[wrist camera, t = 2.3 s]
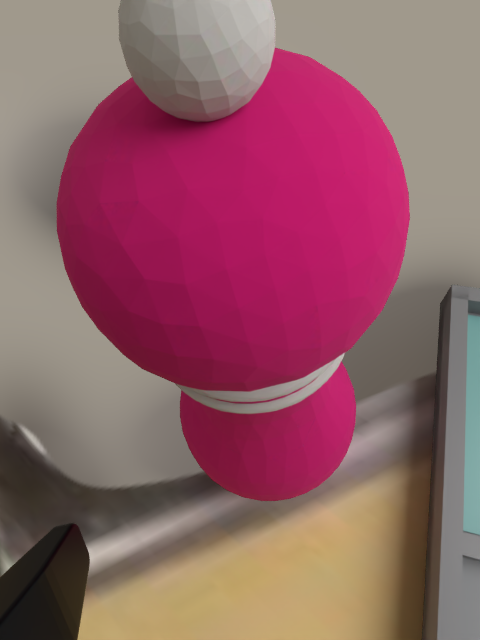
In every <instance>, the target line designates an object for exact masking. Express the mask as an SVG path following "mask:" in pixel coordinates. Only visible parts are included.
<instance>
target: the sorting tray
mask: <svg viewBox="0 0 480 640" xmlns="http://www.w3.org/2000/svg"><path fill="white" fill-rule="evenodd" d="M439 321H440V322H439V339H438V357H437V374H436V392H435V411H434V429H433V447H432V465H431V483H430V502H429V520H428V538H427V556H426V574H425V593H424V611H423V629H422V640H480V288H472V287H465V286H458V285H451V287H450V289H449V290H448V292H447V294H446V295H445V297H444V299H443V300H442V302H441V303H440V320H439Z"/></svg>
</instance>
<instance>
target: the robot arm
mask: <svg viewBox="0 0 480 640" xmlns="http://www.w3.org/2000/svg"><path fill="white" fill-rule="evenodd" d="M89 564H90V559H89V553H88V550H87V547H86V545H85V542H84V540H83V537H82V534H81V532H80V529H79V527H78V526H77V525H76V524H75V523H69V524H64V525H59V526H56V527H54V528H53V529H52V530H51V531H50V532H49V533H48V534H47V535H45V536H44V537H43V538H42V539H41V540H40V541H39V542H38V543H37V544H36V545H35V546H34V547H32V548H31V549H30V550H29V551H28V552H27V553H26V554H25V555H24V556H23V557H22V558H21V559H19V560H18V561H17V562H16V563H15V564H14V565H13V566H12V567H11V568H10V569H9V570H8V571H6V572H5V573H4V574H3V575H2V576H1V577H0V640H77V638H78V633H79V627H80V620H81V614H82V608H83V602H84V596H85V589H86V583H87V577H88V571H89Z"/></svg>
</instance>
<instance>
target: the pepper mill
mask: <svg viewBox="0 0 480 640" xmlns="http://www.w3.org/2000/svg"><path fill="white" fill-rule="evenodd" d="M118 13H119V40H120V44H121V47H122V50H123V54H124V58H125V61H126V64H127V67H128V69H129V71H130V73H131V76H132V78H130V79H129V80H127V81H126V82H125V83H123V84H122V85H120V86H119V87H118V88H117V89H116V90H114V91H113V92H112V93H111V94H110V95H109V96H108V97H107V98H105V99H104V100H103V101H102V102H101V103H100V104H99V105H98V106H97V107H96V109H95V110H94V112H93V113H92V115H91V116H90V118H89V119H88V121H87V122H86V124H85V125H84V127H83V128H82V130H81V132H80V133H79V134H78V136H77V137H76V139H75V140H74V142H73V144H72V145H71V146H70V149H69V153H68V156H67V160H66V162H65V166H64V169H63V172H62V175H61V181H60V187H59V192H58V198H57V233H58V238H59V242H60V247H61V252H62V256H63V261H64V266H65V270H66V272H67V275H68V277H69V280H70V282H71V284H72V286H73V289H74V291H75V293H76V295H77V297H78V299H79V301H80V303H81V305H82V307H83V309H84V310H85V311H86V313H87V314H88V315H89V317H90V318H91V320H92V321H93V322H94V324H95V325H96V326H97V328H98V329H99V330H100V331H101V332H102V333H103V334H104V335H105V336H106V337H107V338H108V339H109V340H110V341H111V342H112V343H113V344H114V345H115V347H116V348H118V349H119V350H120V352H121V353H122V354H123V355H125V356H126V357H127V358H129V359H130V360H131V361H133V362H134V363H135V364H137V365H138V366H139V367H141V368H142V369H144V370H146V371H148V372H151V373H153V374H155V375H157V376H160V377H162V378H164V379H167V380H169V381H171V382H174V383H175V384H176V385H177V386H178V387H179V388H180V389H181V390H182V391H181V400H180V418H181V424H182V430H183V434H184V436H185V439H186V441H187V444H188V446H189V449H190V451H191V453H192V454H193V456H194V458H195V459H196V461H197V462H198V464H199V465H200V467H201V468H202V469H203V470H204V471H205V473H206V474H207V475H208V476H209V477H210V478H211V479H212V480H213V481H215V482H216V483H217V484H219V485H220V486H222V487H223V488H225V489H226V490H228V491H230V492H232V493H235V494H237V495H239V496H242V497H245V498H250V499H255V500H260V501H278V500H284V499H290V498H293V497H296V496H299V495H302V494H305V493H307V492H308V491H310V490H312V489H314V488H316V487H317V486H319V485H320V484H321V483H322V482H324V481H325V480H326V479H327V478H329V477H330V476H331V474H332V473H333V472H334V471H335V470H336V469H337V468H338V466H339V465H340V463H341V462H342V460H343V458H344V457H345V455H346V453H347V451H348V448H349V446H350V443H351V440H352V436H353V431H354V427H355V416H356V402H355V395H354V389H353V386H352V384H351V381H350V378H349V376H348V373H347V370H346V369H345V367H344V365H343V363H342V359H343V357H344V354H345V352H347V351H348V350H349V349H351V348H352V347H353V345H354V344H355V343H356V342H357V341H358V339H359V338H360V337H361V336H362V334H363V333H364V332H365V331H366V330H367V328H368V327H369V326H370V325H371V323H372V322H373V321H374V320H375V319H376V318H377V316H378V315H379V314H380V312H381V311H382V310H383V308H384V306H385V304H386V302H387V299H388V297H389V295H390V293H391V291H392V289H393V287H394V285H395V283H396V281H397V279H398V276H399V272H400V268H401V264H402V261H403V257H404V252H405V246H406V240H407V233H408V227H409V220H410V213H409V193H408V188H407V183H406V179H405V174H404V169H403V166H402V162H401V159H400V156H399V153H398V151H397V148H396V145H395V143H394V140H393V137H392V135H391V134H390V132H389V130H388V129H387V127H386V125H385V124H384V122H383V120H382V119H381V117H380V115H379V114H378V112H377V110H376V109H375V108H374V107H373V106H372V105H371V104H370V103H369V101H368V100H367V99H366V98H365V97H364V96H363V95H362V94H361V92H360V91H358V90H357V89H356V88H355V87H354V86H352V85H351V84H350V83H349V82H348V81H346V80H345V79H344V78H343V77H341V76H340V75H338V74H336V73H335V72H333V71H331V70H330V69H328V68H327V67H325V66H323V65H322V64H320V63H318V62H317V61H315V60H314V59H312V58H310V57H308V56H304V55H300V54H296V53H292V52H289V51H285V50H282V49H278V48H275V17H274V13H273V8H272V4H271V0H121V2H120V6H119V11H118Z"/></svg>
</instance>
